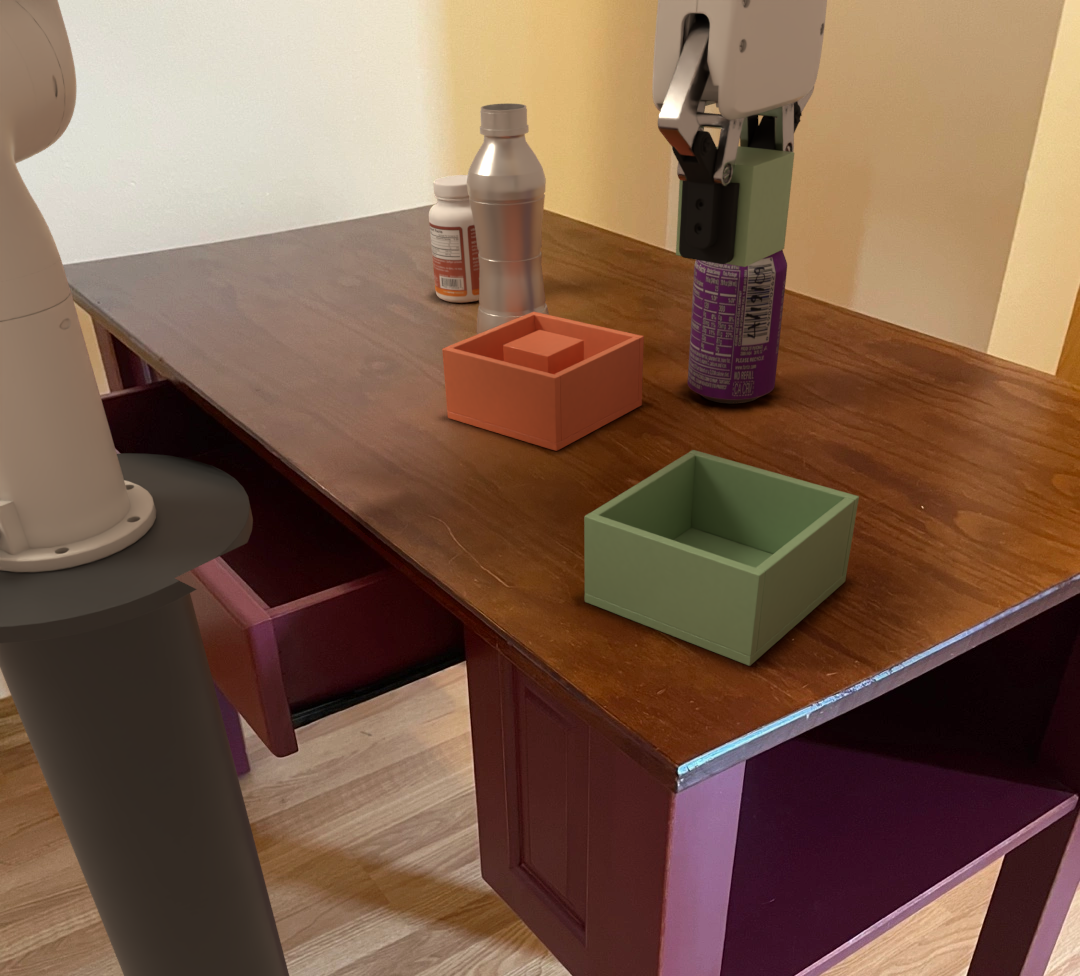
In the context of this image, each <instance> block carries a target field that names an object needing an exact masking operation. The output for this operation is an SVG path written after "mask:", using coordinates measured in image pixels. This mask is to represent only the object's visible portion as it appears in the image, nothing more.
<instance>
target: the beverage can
mask: <svg viewBox="0 0 1080 976" xmlns="http://www.w3.org/2000/svg"><path fill="white" fill-rule="evenodd" d="M787 272H788V262H787V259H786V256H785V253H784V249H783V250H781V251H779V252H776V253H774V254H772V255H770V256H768V257H766V258H763V259H761V260H759V261H757V262H755V263H753V264H750V265H748V266H746V267H742V266H736V265H730V264H718V263H712V262H706V261H700V260H695V262H694V265H693V282H692V299H691V300H692V301H691V317H690V318H691V320H690V333H689V335H690V336H689V351H688V371H687V386H688V387H689V389H690V390H691V391H693V393H696V394H698V395H699V396H702V398H704V399H706V400H708V401H711V402H715V403H720V404H729V405H730V404H732V405H733V404H734V405H735V404H744V403H749V402H752V401H755V400H757V399H758V398H761V397H763V396H766V395H768V394H769V393H771V392H772V391H773V390H774V389H775V385H776V379H777V378H776V377H777V369H778V356H779V350H780V349H779V348H780V341H781V340H780V339H781V330H782V320H783V311H784V304H785V303H784V302H785V292H786V283H787V274H788V273H787Z"/></svg>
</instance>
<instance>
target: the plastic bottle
mask: <svg viewBox="0 0 1080 976" xmlns="http://www.w3.org/2000/svg"><path fill="white" fill-rule="evenodd" d="M479 113H480V126H479V134H480V135H482V136H483V143H482V144H481V146H480V147H479V149H478V150H477V152H476V153H475V155H474V158H473V160H472V162H471V163H470V166H469V168H468V172H467V175H468V176H467V189H468V194H469V200H470V205H471V210H472V215H473V220H474V225H475V231H476V240H477V248H478V250H479V254H478V257H479V266H480V274H479V300H478V304H479V305H478V307H477V315H476V329H475V331H476V335H477V334H480V333H482V332H485V331H487V330H490V329H492V328H495V327H497V326H499V325H502V324H504V323H507V322H509V321H512V320H514V319H517V318H519V317H522V316H524V315H527V314H530V313H532V312H538V313H542V314H547V315H550V312H549V309H548V308H549V307H548V304H547V303H546V293H545V284H544V275H543V267H542V266H543V265H542V251H541V250H542V245H543V244H542V242H543V239H542V238H543V219H544V209H545V199H546V198H545V197H546V194H545V193H546V186H547V185H546V183H547V181H546V180H547V178H546V175H545V171H544V168H543V166H542V164H541V162H540V159H538V157H537V155H536V153H535V152H534V150H533V149H532V148H531V146H530V145H529V143H528V142H527V140H526V134H528V133H529V132H530V131H529V129H530V128H529V124H528V108H527V105H525V104H522V103H492V104H486V105H483V106H481V107H480V112H479Z"/></svg>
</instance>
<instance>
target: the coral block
mask: <svg viewBox="0 0 1080 976" xmlns="http://www.w3.org/2000/svg"><path fill="white" fill-rule="evenodd" d="M503 352H504V362H508V363H512V364H516V365H520V366H523V367H527V368H531V369H535V370H539V371H543V372H547V373H550V374H556V373H558V372H560V371H562V370H564V369H566V368H568V367H571V366H573V365H575V364H577V363H579V362H581V361H583V360H584V340H581V339H577V338H572V337H568V336H564V335H560V334H555V333H551V332H547V331H542V330H538V331H536V332H533V333H531V334H528V335H526V336H524V337H521V338H519V339H517V340H514V341H512V342H510V343H507V344H505V345H503Z"/></svg>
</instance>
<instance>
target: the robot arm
mask: <svg viewBox="0 0 1080 976" xmlns="http://www.w3.org/2000/svg"><path fill="white" fill-rule="evenodd" d="M827 4H828V0H657V10H656V18H655V32H654V33H655V34H654V48H653V62H652V88H651V89H652V102H653V104H654V106H655V108H656V109H657V110H658V111H659V114H658V116H657V117H658V118H657V128H658V131H659V132H660V134H661V135H662V136H663V137H664V138H665V140H666V141H667V142H668V144H669V145H670V146H671V148H672V152H673V155H674V156H675V158H676V160H677V168H676V169H677V170H676V174H677V178H678V179H679V181H680V180H681V181H683V183H682V202H681V222H680V241H679V252H680V255H681V256H680V257H682V258H684V259H690V260H693V261H694V260H695V261H696V260H700V261H706V262H712V263H718V264H726V263H728V262H730V261H732V259H733V257H734V247H735V234H736V222H737V210H738V197H739V185H740V183H732V182H731V180H732V177H733V172H734V167H735V161H736V156H737V150H738V146H741V147H750V148H760V149H769V150H778V151H787V152H794V151H795V133H796V130H797V128H798V126H799V124H800V122H801V121H802V120H801V117H802V116H803V114H802V113H803V111H804V109H805V107H807V106H806V105H807V104H808V102H809V100H810V99H811V97H812V95H813V93H814V90H815V85H816V82H817V79H818V74H819V69H820V64H821V57H822V51H823V42H824V36H825V35H824V34H825V26H826V18H827V17H826V15H827V7H828V5H827ZM63 17H64V16H63V14H62V11H61V7H60V4H59V1H58V0H0V570H1V571H9V572H25V573H35V572H47V571H55V570H61V569H67V568H73V567H77V566H80V565H84V564H88V563H92V562H94V561H97V560H100V559H103V558H106V557H108V556H111V555H113V554H115V553H117V552H120V551H122V550H124V549H125V548H127V547H129V546H130V545H132V544H134V543H135V542H136V541H138V540H139V539H140V538H141V537H143V536H144V535H145V534H146V533H147V532H148V530H149V529H150V528H151V527H152V526H153V523H154V521H155V519H156V509H155V505H154V502H153V498H152V496H151V495H150V493H149V492H148V491H147V490H145V489H144V488H142V487H141V486H139V485H137V484H134V483H132V482H129V481H125V480H124V478H123V475H122V471H121V468H120V464H119V461H118V457H117V454H118V453H117V450H116V447H115V443H114V439H113V436H112V432H111V429H110V425H109V422H108V418H107V415H106V411H105V408H104V404H103V400H102V397H101V394H100V390H99V387H98V383H97V379H96V376H95V371H94V368H93V364H92V362H91V357H90V355H89V350H88V346H87V343H86V340H85V337H84V333H83V329H82V326H81V322H80V319H79V315H78V312H77V307H76V305H75V300H74V298H73V294H72V290H71V289H70V285H69V281H68V278H67V275H66V271H65V267H64V265H63V261H62V258H61V254H60V252H59V250H58V249H59V248H58V247H57V243H56V241H55V239H54V237H53V234H52V232H51V230H50V228H49V225H48V223H47V221H46V219H45V217H44V215H43V214H42V212H41V210H40V208H39V207H38V206H39V205H38V204H37V203H36V201H35V199H34V197H33V196H32V194H31V192H30V191H29V189H28V187H27V185H26V183H25V182H24V179H23V178H22V176H21V174H20V171H19V169H18V166H17V164H19V163H20V162H23V161H25V160H28V159H29V158H32V157H33V156H36V155H37V154H39V153H42V152H43V151H45V150H47V149H48V148H50V147H51V146H53V145H54V144H55V143H56V142H57V141H58V140H59V139H60V138H61V137H62V136H63V135H64V133H65V132H66V131H67V129H68V127H69V125H70V123H71V122H72V118H73V116H74V112H75V108H76V103H77V90H78V89H77V85H78V84H77V74H76V67H75V61H74V56H73V51H72V47H71V43H70V39H69V35H68V32H67V31H68V30H67V28H66V24H65V21H64V18H63ZM714 104H715V107H716V108H718V112H719V113H714V112H713V113H711V112H705V110H706V107H708V106H710V105H714ZM759 117H761V120H760V121H759ZM705 129H716V130H720V132H719V133H720V134H719V139H718V143H717V145H716V143H715V141H714V139H713V137H712V134H711V133H710V131H708V130H705ZM717 146H718V149H717ZM794 153H795V152H794Z"/></svg>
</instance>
